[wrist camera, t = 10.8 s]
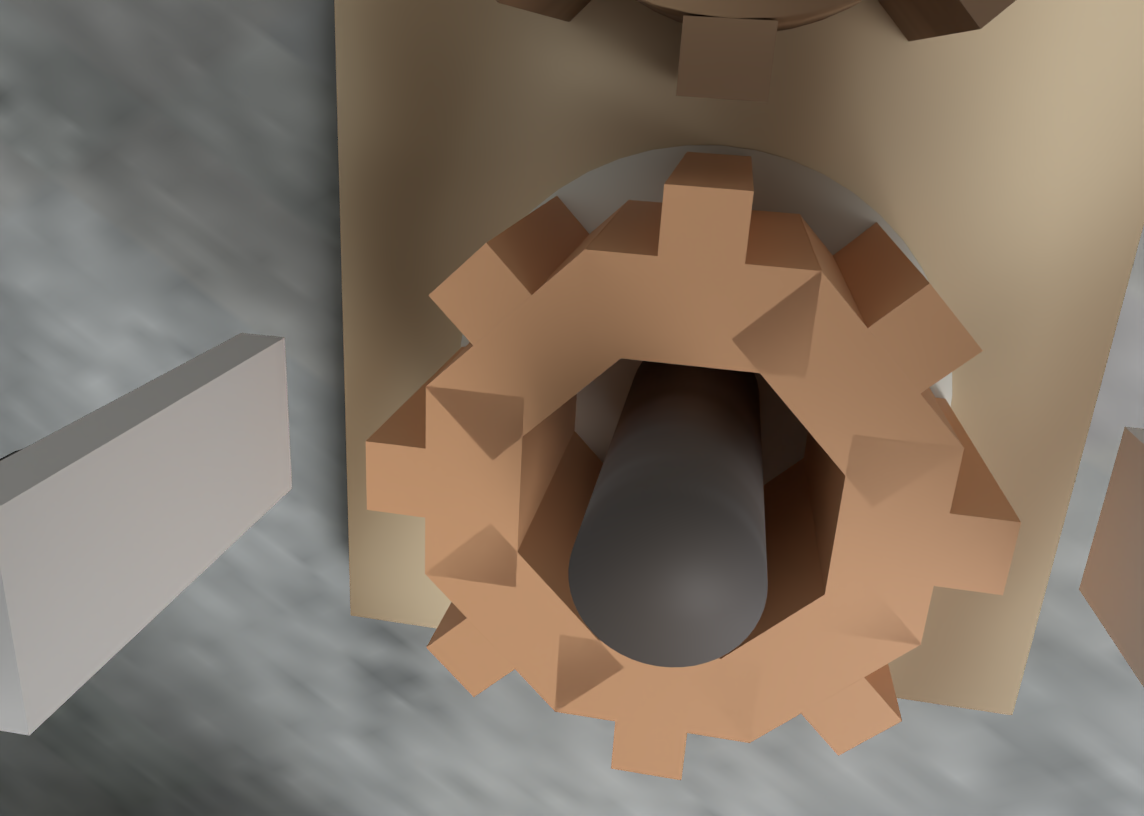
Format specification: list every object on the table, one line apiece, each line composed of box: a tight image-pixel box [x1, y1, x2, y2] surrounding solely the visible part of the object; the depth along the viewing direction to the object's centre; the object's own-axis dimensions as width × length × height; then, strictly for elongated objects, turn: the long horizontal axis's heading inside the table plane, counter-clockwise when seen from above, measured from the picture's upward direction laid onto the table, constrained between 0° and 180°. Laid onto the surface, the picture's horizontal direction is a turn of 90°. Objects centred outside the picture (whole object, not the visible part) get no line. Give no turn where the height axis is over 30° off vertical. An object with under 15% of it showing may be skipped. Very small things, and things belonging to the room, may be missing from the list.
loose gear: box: [366, 152, 1021, 780], centre depth 15 cm, size 9×9×5 cm
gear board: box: [334, 0, 1144, 715], centre depth 14 cm, size 14×20×8 cm
